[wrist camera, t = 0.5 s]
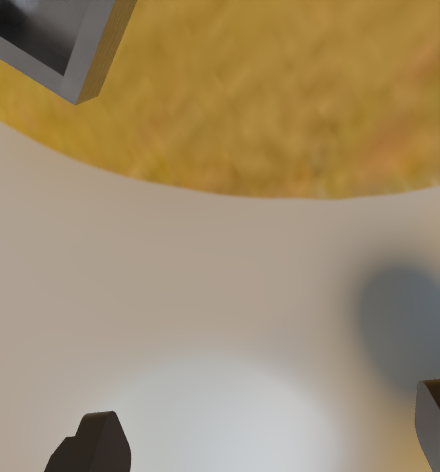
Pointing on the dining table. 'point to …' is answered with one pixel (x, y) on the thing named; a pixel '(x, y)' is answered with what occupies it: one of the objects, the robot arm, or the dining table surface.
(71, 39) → the socket cup
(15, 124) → the dining table surface
